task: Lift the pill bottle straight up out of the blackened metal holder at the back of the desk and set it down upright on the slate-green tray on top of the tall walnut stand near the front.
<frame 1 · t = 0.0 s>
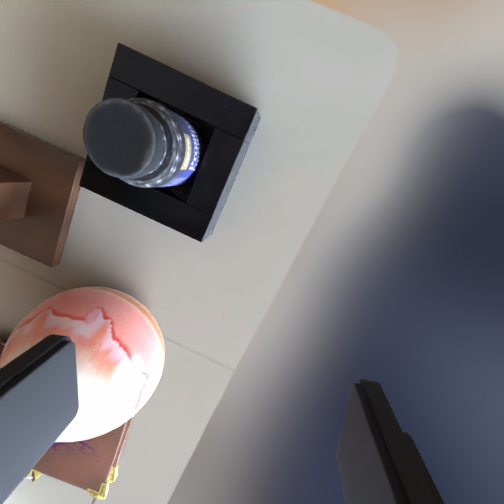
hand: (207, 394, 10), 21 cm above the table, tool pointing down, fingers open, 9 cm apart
vase: (123, 326, 35), on the table
pill bottle: (179, 152, 29), resting in holder
holder: (178, 152, 29), on the table
book: (42, 400, 38), on the table
stand: (20, 191, 31), on the table
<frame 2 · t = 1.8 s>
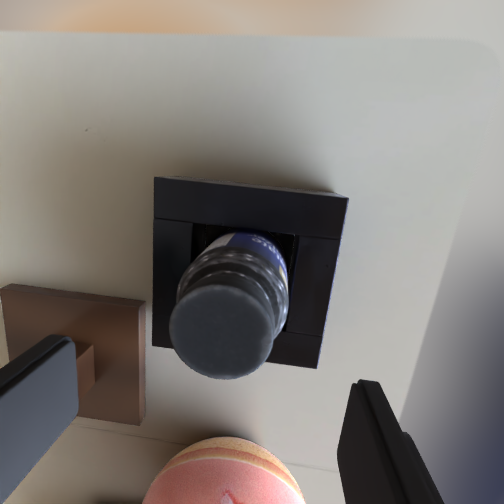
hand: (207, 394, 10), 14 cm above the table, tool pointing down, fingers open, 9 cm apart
vase: (234, 461, 29), on the table
pill bottle: (247, 261, 24), resting in holder
holder: (247, 261, 24), on the table
stand: (81, 352, 27), on the table
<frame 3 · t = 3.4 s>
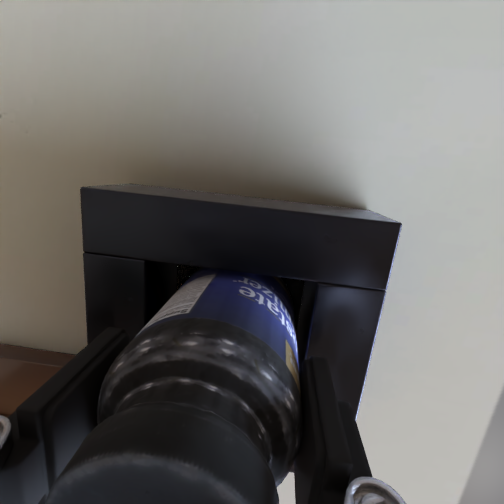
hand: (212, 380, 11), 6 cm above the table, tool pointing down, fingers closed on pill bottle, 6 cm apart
pill bottle: (237, 305, 17), resting in holder, touching gripper
holder: (236, 306, 16), on the table
stand: (13, 422, 20), on the table
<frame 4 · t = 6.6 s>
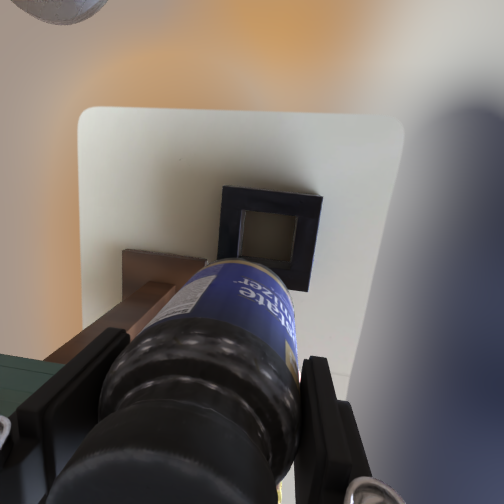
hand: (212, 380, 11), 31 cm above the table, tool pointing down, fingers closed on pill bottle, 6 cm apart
pill bottle: (237, 306, 17), point 25 cm above the table, touching gripper
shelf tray: (15, 434, 20), resting on stand
holder: (268, 234, 41), on the table
stand: (165, 292, 44), on the table
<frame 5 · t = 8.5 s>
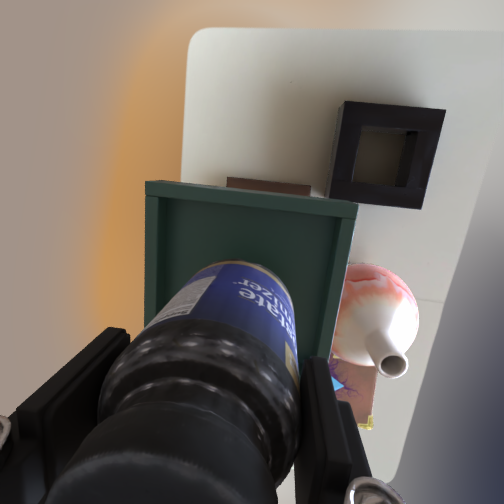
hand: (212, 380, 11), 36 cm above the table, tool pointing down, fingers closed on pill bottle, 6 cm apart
vase: (351, 295, 47), on the table
pill bottle: (237, 307, 17), point 30 cm above the table, touching gripper
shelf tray: (244, 278, 20), resting on stand
holder: (374, 158, 41), on the table
book: (297, 372, 51), on the table
stand: (264, 221, 45), on the table
when the fingers open (33 cm above the table, at t = 9.9 s): pill bottle stays where it is, resting on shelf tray.
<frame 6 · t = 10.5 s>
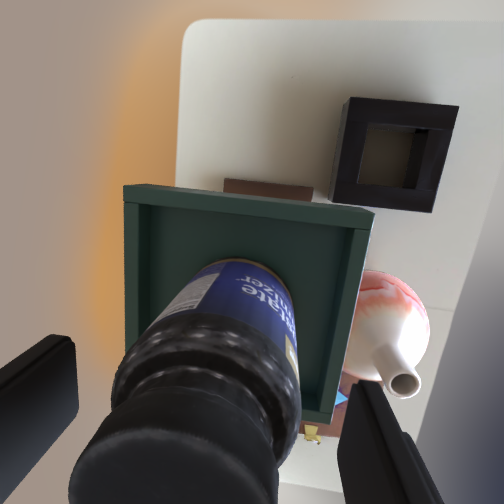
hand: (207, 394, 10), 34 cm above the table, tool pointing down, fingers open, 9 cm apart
vase: (356, 303, 44), on the table
pill bottle: (239, 303, 17), point 26 cm above the table, touching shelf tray
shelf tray: (240, 295, 18), resting on stand
holder: (381, 158, 39), on the table
book: (298, 383, 49), on the table
stand: (264, 225, 43), on the table
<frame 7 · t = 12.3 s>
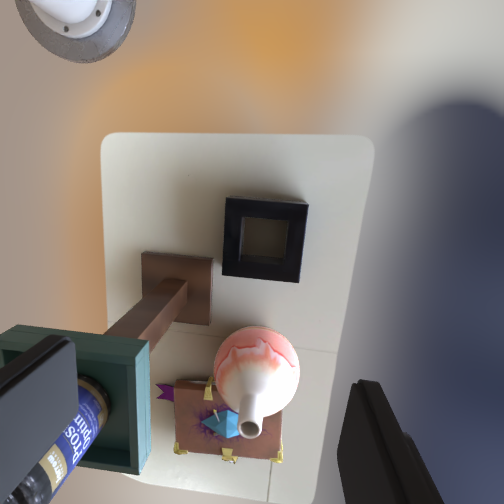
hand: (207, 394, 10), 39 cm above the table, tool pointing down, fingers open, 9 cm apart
vase: (259, 347, 54), on the table
pill bottle: (81, 397, 27), point 26 cm above the table, touching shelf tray
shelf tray: (87, 390, 27), resting on stand
holder: (264, 236, 48), on the table
book: (220, 412, 58), on the table
stand: (178, 287, 52), on the table
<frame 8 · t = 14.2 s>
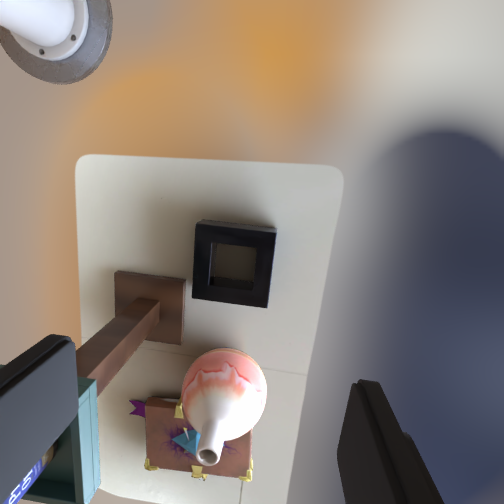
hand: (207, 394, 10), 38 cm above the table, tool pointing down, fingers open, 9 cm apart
vase: (230, 367, 54), on the table
pill bottle: (30, 432, 27), point 26 cm above the table, touching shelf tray
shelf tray: (37, 423, 28), resting on stand
holder: (236, 259, 49), on the table
book: (192, 429, 59), on the table
stand: (151, 306, 52), on the table
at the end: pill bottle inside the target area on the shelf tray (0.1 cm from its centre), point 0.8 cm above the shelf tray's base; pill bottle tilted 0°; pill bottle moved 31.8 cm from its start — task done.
